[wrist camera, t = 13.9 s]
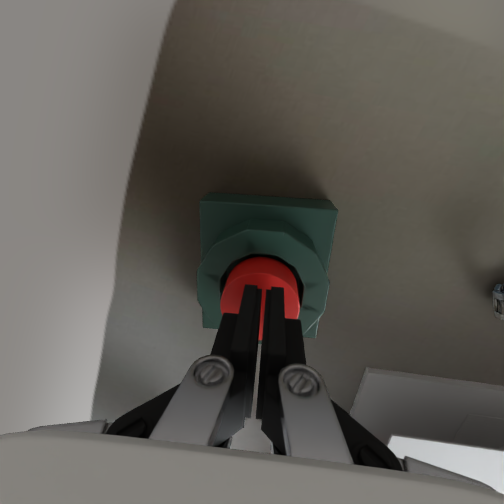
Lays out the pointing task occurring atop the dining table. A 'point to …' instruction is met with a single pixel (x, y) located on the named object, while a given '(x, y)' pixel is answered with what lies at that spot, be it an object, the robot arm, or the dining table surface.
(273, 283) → the button
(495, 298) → the wristwatch
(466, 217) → the dining table surface
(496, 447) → the flat slab with scratches
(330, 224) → the button box
